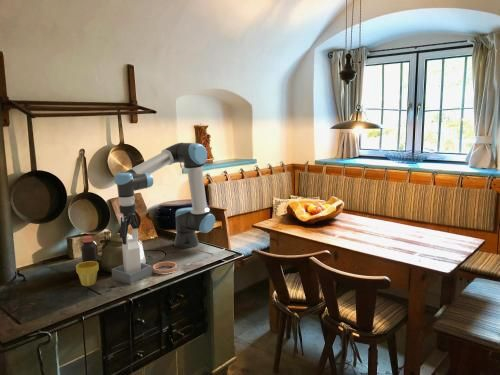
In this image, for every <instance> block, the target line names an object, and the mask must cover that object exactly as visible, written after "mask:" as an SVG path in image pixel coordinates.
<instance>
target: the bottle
mask: <svg viewBox="0 0 500 375" xmlns="http://www.w3.org/2000/svg"><path fill="white" fill-rule="evenodd" d="M81 238H82V239H81V242H82V246H81V248H80V251H81V258H82V259H81V260H82V262H87V261H95V262H97V251H96V250H97V249H96V245H95V244H94V243H93V242H94V240H93V235H85V236H83V237H81ZM82 262H81V263H82ZM98 271H99V270H98ZM98 271H97V273H99V272H98Z"/></svg>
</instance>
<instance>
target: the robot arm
mask: <svg viewBox="0 0 500 375" xmlns="http://www.w3.org/2000/svg"><path fill="white" fill-rule="evenodd" d="M207 159H208V152H207V148H206V147H205V146H204V145H203V144H201V143H197V142H178V143H175V144H172V145H170V146H168V147H166V148H164V149H162V150H161V152H160V153H158V154H157V155H154V156H153V157H150V158H149V159H147V160H144V161H142V163H140V164H137V165H136V166H134V167H131V168H130V169H128V170H126V171H119V172H116V174H115V175H114V177H113V181H114V183H115V185H116V187H117V188H116V189H117V196H118V205H119V213H120V214H122V215H123V217H122V216H121V217H120V225H119V226H120V227H119V239H121V243H122V245H123V250H129V245H128V239H129V238H128V233H129V226H131V236H132V237H131V239H135V238H137V240H138V241H139V235H138V234H139V232H138V229H140V226H139V221H138V218H137V215H136V204H135V200H136V197H135V192H136V191H139V190H144V189H148V188H152V186H153V185H154V176H153V175H152V174H153V173H155V172H157V171H158V170H160V169H162V168H165V166H168V165H169V166H171V165H173V164H175V163H180V164H181V163H182V164H183V167H184V169H185V170H186V171H187V176H188V177H187V178H188V183H189V184H188V185H189V193H190V199H191V207H182V208H178V209H176V211H175V216H174V218H175V230H176V235H175V238H174V241H173V245H174V246H175V247H176V248H180V249H189V248H194V247H197V246H198V245H199V239H198V236H197V233H196V232H198V233H199V232H200V233H207V234H208V233H210V232H211V231H212V230H213V229H214V227H215V224H216V217H215V215H214V214H213V213H211V209H210V207H208V204H207V197H206V190H205V181H204V173H203V168H204V167H205V164H206V162H207ZM122 245H121V246H122Z"/></svg>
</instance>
